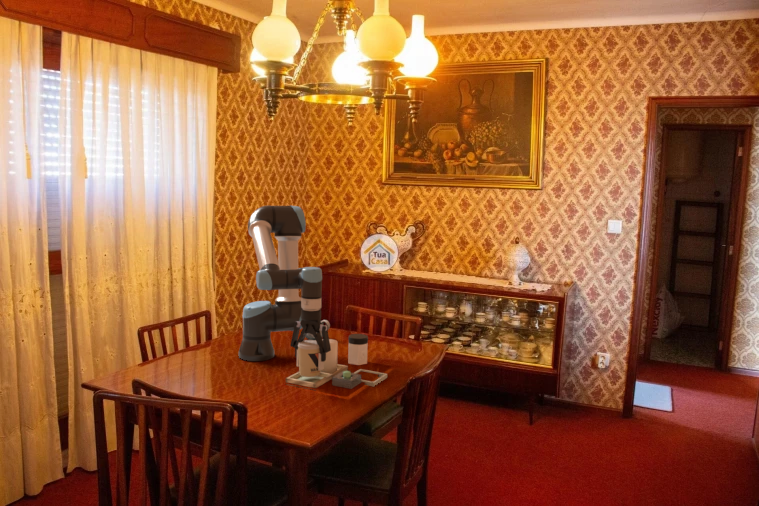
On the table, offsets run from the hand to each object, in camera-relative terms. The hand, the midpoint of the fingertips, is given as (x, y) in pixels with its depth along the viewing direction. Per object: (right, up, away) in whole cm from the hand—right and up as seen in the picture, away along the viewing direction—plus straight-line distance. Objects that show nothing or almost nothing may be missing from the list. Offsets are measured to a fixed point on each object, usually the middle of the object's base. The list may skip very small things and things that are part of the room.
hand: (310, 367), depth 228 cm
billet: (+5, -4, +12) cm, 13 cm away
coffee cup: (0, -3, 0) cm, 3 cm away
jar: (+17, -4, +26) cm, 31 cm away
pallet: (+2, -5, +6) cm, 9 cm away
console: (+14, -7, -2) cm, 16 cm away
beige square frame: (+21, -6, +7) cm, 23 cm away
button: (+14, -5, -2) cm, 15 cm away
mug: (-4, +2, +62) cm, 62 cm away
